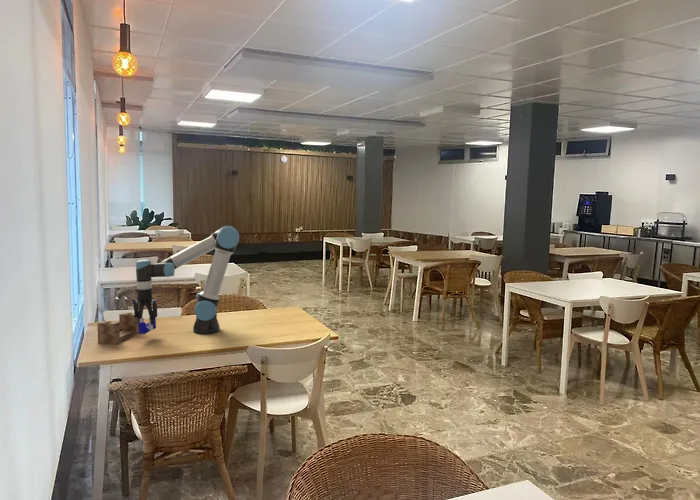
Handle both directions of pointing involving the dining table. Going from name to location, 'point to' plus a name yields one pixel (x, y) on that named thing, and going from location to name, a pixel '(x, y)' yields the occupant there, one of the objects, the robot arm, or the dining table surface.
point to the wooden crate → (118, 329)
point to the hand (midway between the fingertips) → (146, 330)
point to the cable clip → (145, 327)
